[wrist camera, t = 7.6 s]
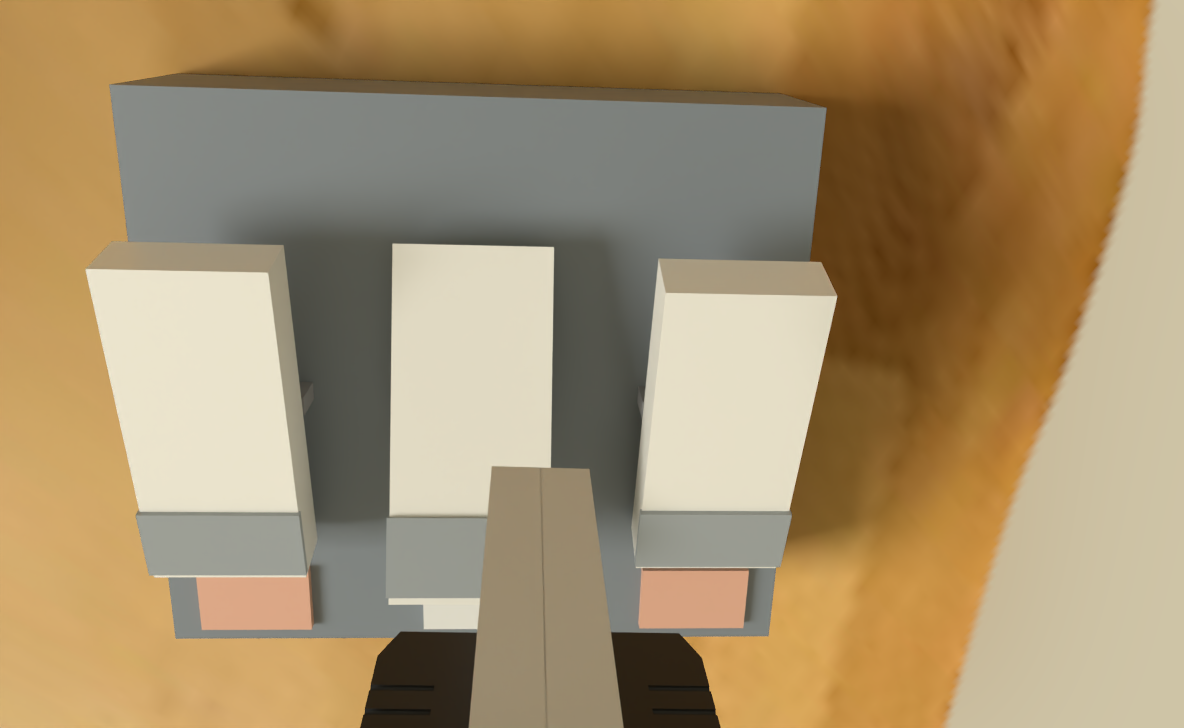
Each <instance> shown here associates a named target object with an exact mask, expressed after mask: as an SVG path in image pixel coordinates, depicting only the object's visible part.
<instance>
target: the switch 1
mask: <svg viewBox="0 0 1184 728" xmlns="http://www.w3.org/2000/svg"><path fill="white" fill-rule="evenodd" d="M85 270H86V274H87V278H88V283H89V287H90V292H91V296H92V301H93V305H94V310H95V314H96V319H97V323H98V328H99V332H100V337H101V341H102V346H103V350H104V355H105V359H106V363H107V368H108V372H109V377H110V381H111V386H112V390H113V395H114V399H115V404H116V408H117V413H118V417H119V422H120V426H121V431H122V435H123V440H124V444H125V448H126V453H127V457H128V462H129V466H130V471H131V475H132V480H133V484H134V489H135V493H136V498H137V502H138V507H139V511H138V512H137V514H136V519H137V524H138V528H139V533H140V537H141V541H142V546H143V550H144V555H145V559H146V564H147V568H148V572H149V575H154V577H307V573H308V570H309V566H310V563H311V560H312V556H313V553H314V549H315V546H316V543H317V531H316V522H315V513H314V505H313V496H312V487H311V479H310V470H309V461H308V452H307V444H306V435H305V426H304V418H303V409H302V400H301V392H300V383H299V374H298V366H297V357H296V348H295V340H294V331H293V322H292V314H291V305H290V296H289V288H288V279H287V270H286V261H285V253H284V245H256V244H211V243H165V242H120V241H112V242H111V243H110V244H109V245H108V246H107V247H106V248H105V249H104V250H103V251H102V252H101V253H100V254H99V255H98V256H97V257H96V258H95V259H94V260H93V262H92V263H91V264H90V265H89V266H88V267H87V268H86V269H85Z"/></svg>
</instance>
